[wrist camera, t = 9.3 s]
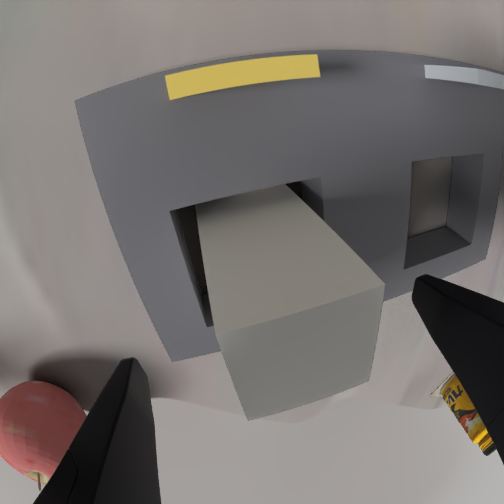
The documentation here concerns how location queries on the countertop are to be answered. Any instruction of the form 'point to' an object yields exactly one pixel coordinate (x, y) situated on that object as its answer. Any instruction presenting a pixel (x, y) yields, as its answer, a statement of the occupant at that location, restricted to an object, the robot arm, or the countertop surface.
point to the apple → (37, 428)
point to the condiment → (465, 412)
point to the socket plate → (294, 162)
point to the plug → (286, 300)
